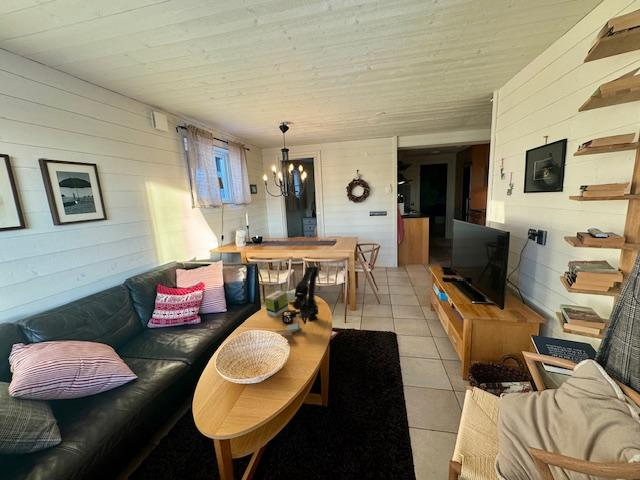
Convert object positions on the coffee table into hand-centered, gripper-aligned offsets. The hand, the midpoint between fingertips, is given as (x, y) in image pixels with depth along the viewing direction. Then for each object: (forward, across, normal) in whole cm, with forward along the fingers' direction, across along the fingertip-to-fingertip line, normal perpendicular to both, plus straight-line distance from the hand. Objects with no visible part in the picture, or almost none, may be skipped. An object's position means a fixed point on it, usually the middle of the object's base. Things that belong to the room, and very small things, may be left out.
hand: (304, 323), depth 174 cm
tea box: (+5, -18, +31) cm, 37 cm away
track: (+4, -13, 0) cm, 14 cm away
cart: (+4, -8, 0) cm, 9 cm away
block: (+4, -12, -9) cm, 15 cm away
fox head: (+5, 0, +43) cm, 44 cm away
